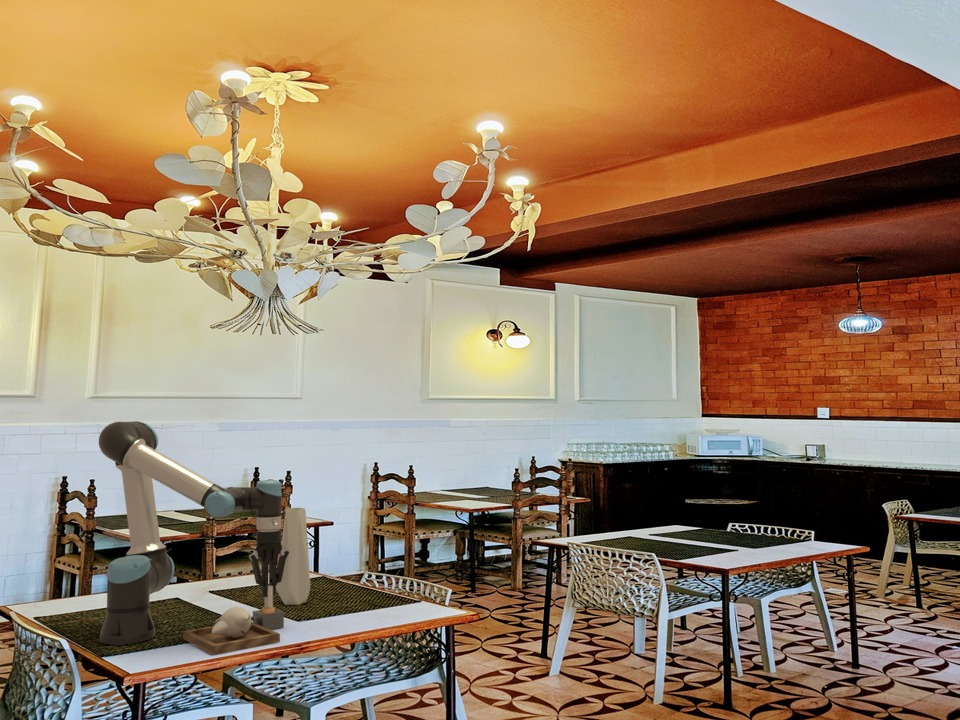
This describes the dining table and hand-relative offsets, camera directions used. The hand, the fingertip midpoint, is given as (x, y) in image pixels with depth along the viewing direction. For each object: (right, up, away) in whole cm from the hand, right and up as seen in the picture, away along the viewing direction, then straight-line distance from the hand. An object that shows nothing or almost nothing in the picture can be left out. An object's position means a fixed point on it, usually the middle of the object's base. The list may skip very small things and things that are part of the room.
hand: (268, 606), depth 255 cm
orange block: (0, -5, 0) cm, 5 cm away
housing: (0, -6, 0) cm, 6 cm away
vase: (+1, -9, +34) cm, 35 cm away
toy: (-7, -5, -14) cm, 17 cm away
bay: (-7, -5, -15) cm, 18 cm away
